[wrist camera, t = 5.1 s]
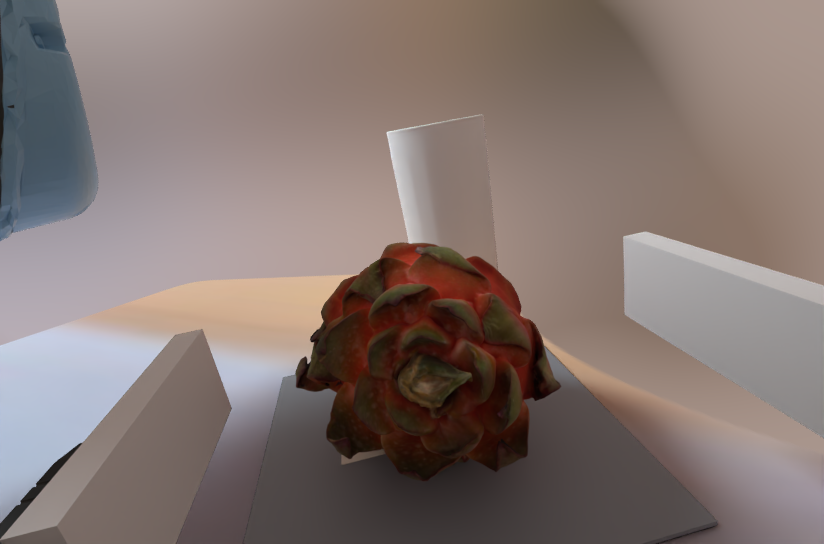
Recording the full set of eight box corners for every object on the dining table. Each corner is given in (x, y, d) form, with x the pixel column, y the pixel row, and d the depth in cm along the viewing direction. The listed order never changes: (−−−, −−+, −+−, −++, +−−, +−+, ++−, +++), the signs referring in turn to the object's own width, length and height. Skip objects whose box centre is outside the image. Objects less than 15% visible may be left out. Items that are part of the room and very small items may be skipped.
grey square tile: (213, 676, 11) (211, 670, 11) (283, 379, 24) (282, 376, 24) (717, 525, 12) (717, 519, 12) (520, 323, 25) (519, 320, 25)
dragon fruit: (526, 608, 12) (385, 430, 23) (667, 359, 14) (472, 303, 25) (279, 481, 9) (252, 345, 20) (497, 178, 11) (360, 207, 22)
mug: (521, 281, 31) (504, 110, 28) (443, 311, 29) (412, 127, 25) (450, 256, 40) (430, 123, 36) (386, 277, 38) (357, 137, 34)
